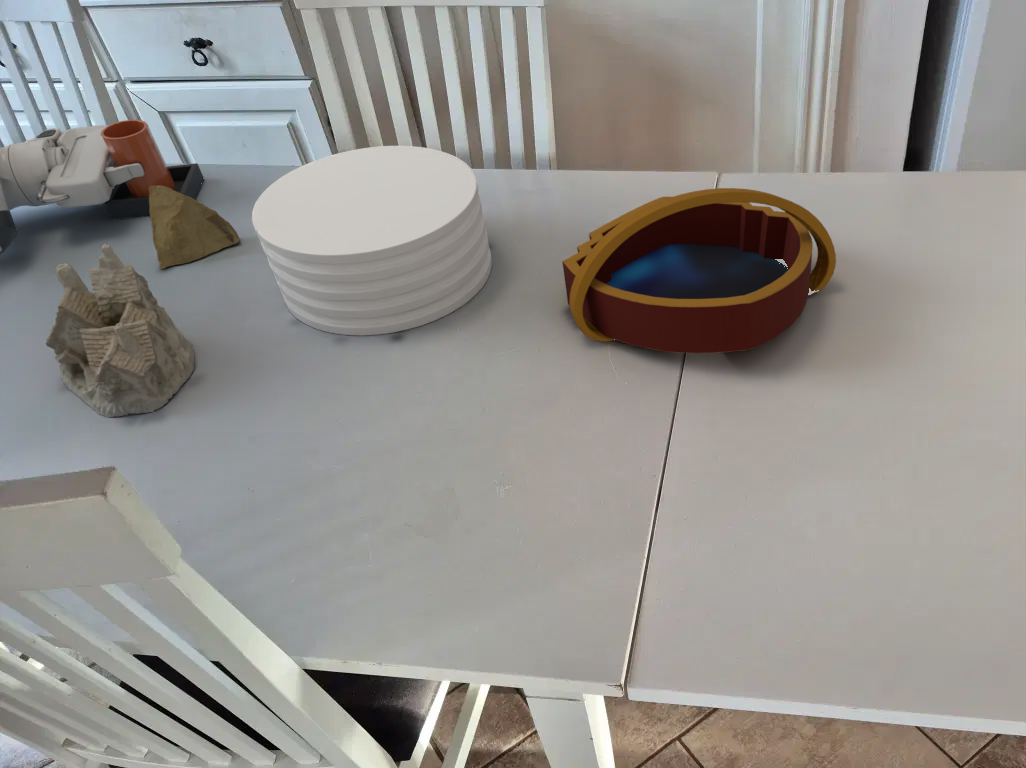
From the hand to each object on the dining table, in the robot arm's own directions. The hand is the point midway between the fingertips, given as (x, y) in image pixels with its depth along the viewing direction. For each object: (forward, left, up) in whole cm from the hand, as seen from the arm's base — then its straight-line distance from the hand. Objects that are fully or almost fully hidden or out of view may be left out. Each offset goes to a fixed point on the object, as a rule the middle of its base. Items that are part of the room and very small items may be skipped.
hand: (146, 156), depth 127 cm
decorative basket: (+76, -47, -7) cm, 90 cm away
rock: (+9, -18, -7) cm, 22 cm away
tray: (-1, 0, -7) cm, 7 cm away
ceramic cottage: (+5, -46, -7) cm, 47 cm away
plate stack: (+36, -30, -7) cm, 48 cm away
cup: (-1, 0, -5) cm, 6 cm away
